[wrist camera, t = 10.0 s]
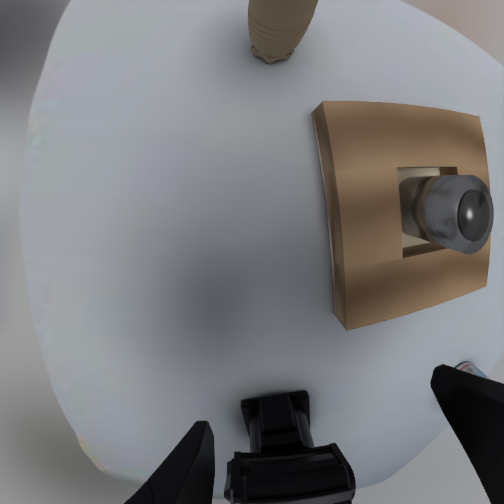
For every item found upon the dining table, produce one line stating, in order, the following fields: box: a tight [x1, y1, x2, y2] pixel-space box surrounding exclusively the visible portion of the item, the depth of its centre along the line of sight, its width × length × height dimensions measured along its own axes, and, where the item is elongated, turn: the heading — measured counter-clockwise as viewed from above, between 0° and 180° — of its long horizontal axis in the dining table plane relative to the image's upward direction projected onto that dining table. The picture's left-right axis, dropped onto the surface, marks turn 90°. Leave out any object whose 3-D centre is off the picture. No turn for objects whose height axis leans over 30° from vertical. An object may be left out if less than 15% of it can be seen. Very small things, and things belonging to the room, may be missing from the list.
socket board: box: [312, 101, 491, 330], centre depth 18 cm, size 16×16×3 cm
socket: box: [399, 175, 493, 255], centre depth 16 cm, size 5×5×7 cm
